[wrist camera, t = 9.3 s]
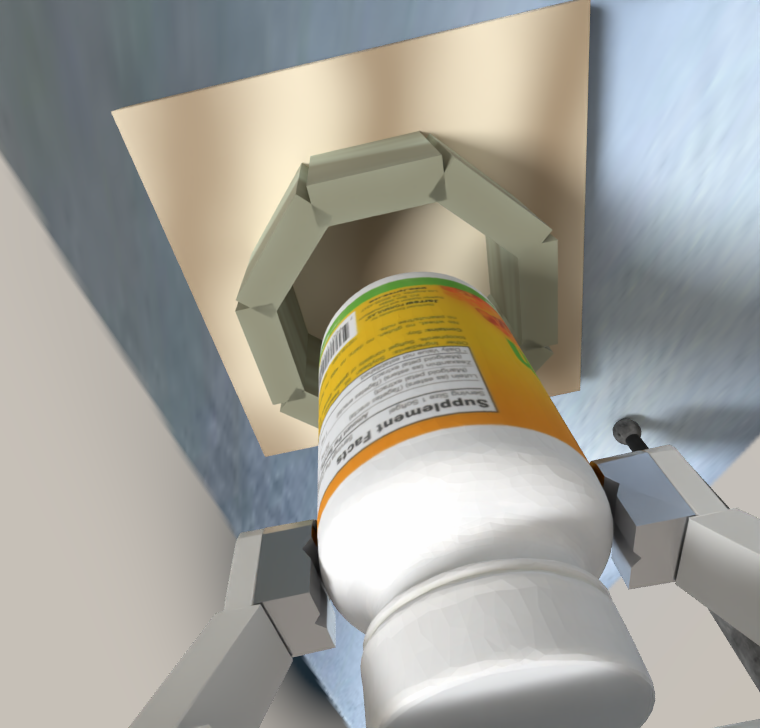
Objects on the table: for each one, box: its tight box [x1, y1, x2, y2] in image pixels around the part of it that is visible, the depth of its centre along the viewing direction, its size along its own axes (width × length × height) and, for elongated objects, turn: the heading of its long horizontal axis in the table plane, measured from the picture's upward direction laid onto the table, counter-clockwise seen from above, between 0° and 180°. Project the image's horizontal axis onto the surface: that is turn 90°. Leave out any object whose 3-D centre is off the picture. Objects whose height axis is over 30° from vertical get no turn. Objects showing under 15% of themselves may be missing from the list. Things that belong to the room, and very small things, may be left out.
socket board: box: [112, 0, 590, 457], centre depth 18 cm, size 15×15×5 cm
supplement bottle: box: [317, 272, 655, 728], centre depth 11 cm, size 5×5×10 cm
